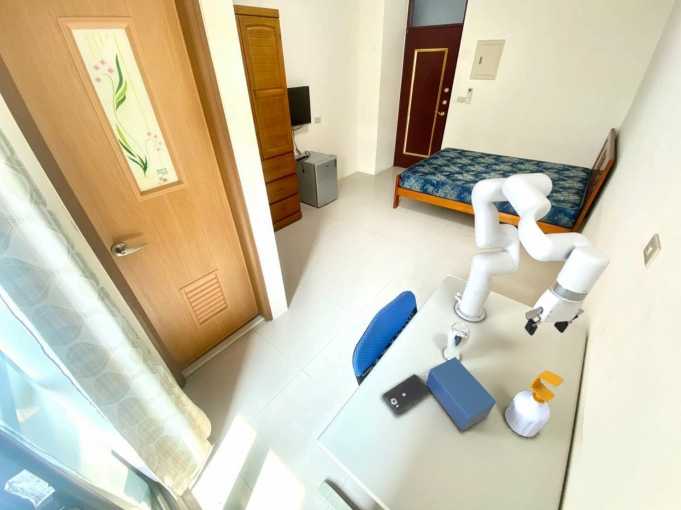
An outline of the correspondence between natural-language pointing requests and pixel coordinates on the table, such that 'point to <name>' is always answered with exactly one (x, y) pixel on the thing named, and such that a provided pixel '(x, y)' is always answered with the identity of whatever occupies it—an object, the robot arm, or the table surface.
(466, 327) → the beer glass
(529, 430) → the soap bottle
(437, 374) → the blue rectangular box
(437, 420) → the table surface
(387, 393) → the smartphone
